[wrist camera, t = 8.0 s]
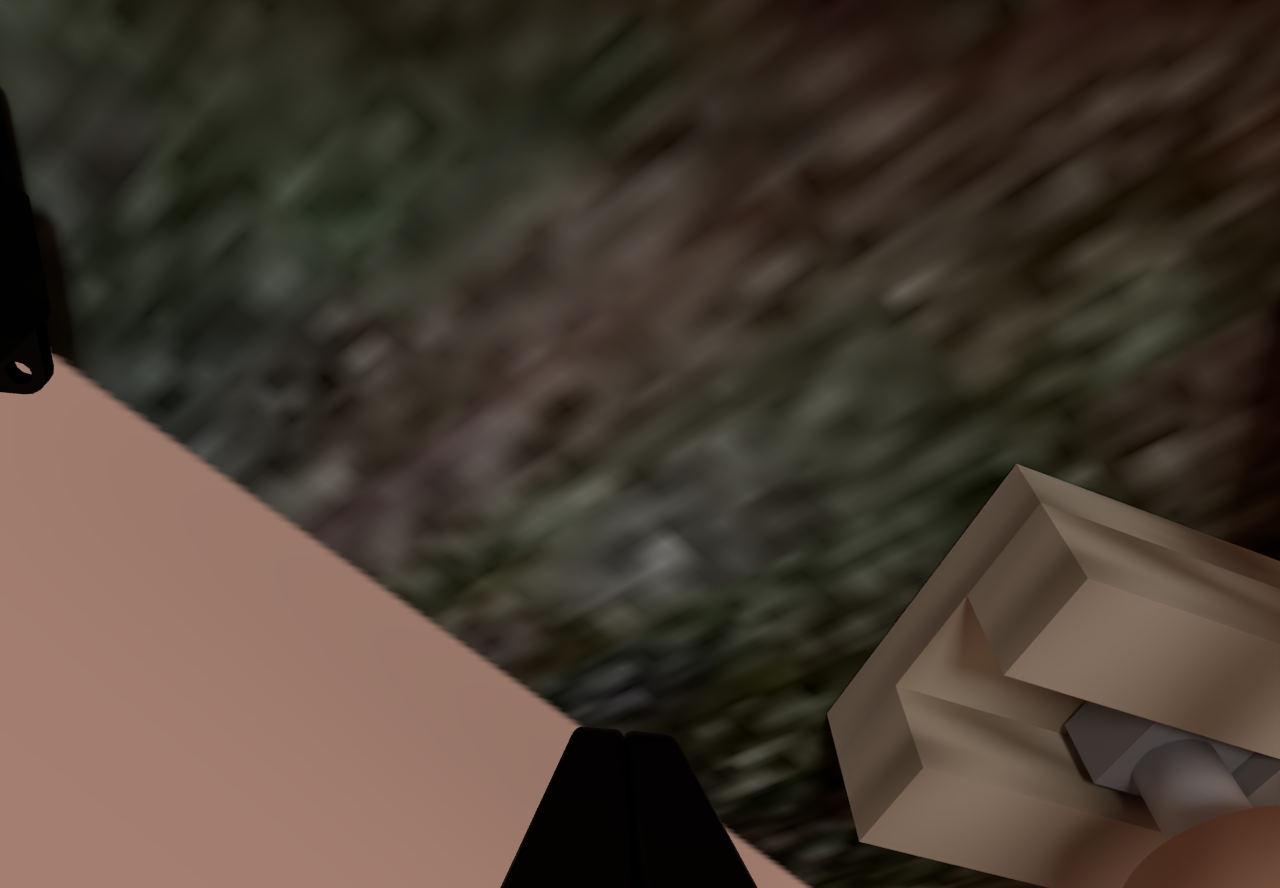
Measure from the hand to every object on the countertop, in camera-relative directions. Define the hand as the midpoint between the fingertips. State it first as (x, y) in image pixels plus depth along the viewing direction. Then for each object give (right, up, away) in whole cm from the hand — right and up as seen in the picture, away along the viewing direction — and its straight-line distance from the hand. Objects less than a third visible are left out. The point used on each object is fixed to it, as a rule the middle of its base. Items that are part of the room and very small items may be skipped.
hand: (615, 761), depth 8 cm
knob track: (+11, -3, +18) cm, 21 cm away
